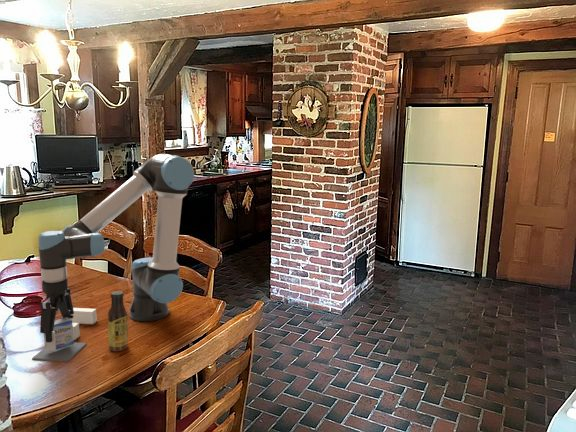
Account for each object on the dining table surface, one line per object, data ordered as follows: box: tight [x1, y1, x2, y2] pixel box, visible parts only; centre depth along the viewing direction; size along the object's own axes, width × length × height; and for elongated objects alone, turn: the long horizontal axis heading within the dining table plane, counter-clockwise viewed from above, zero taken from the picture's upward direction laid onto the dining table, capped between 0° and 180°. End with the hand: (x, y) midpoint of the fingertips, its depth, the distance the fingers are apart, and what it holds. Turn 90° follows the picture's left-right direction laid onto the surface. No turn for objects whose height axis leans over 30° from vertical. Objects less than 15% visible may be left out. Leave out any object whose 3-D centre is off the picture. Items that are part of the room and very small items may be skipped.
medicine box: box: [43, 317, 75, 350], centre depth 156 cm, size 8×4×9 cm, turn 137°
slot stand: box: [70, 307, 98, 341], centre depth 174 cm, size 9×16×5 cm, turn 176°
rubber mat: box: [31, 341, 87, 363], centre depth 158 cm, size 12×12×1 cm
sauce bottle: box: [107, 290, 129, 352], centre depth 159 cm, size 6×6×20 cm
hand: (59, 343), depth 157 cm, fingers closed on medicine box, 9 cm apart
